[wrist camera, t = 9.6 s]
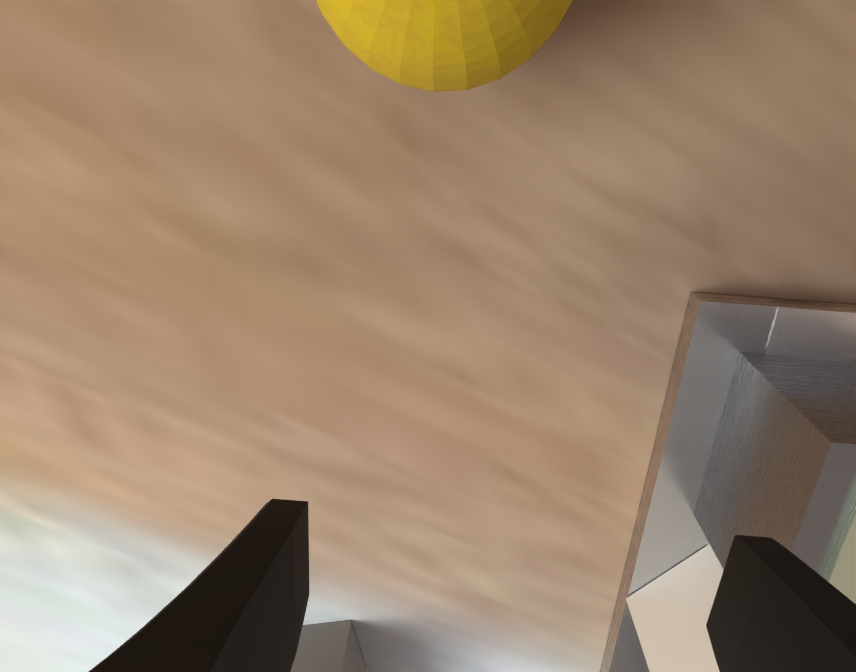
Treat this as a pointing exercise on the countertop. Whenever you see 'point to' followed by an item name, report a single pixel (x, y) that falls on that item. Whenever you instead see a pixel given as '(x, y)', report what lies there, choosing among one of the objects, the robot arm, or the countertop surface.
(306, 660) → the relay block
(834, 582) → the rail
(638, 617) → the block
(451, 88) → the lemon
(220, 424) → the countertop surface
